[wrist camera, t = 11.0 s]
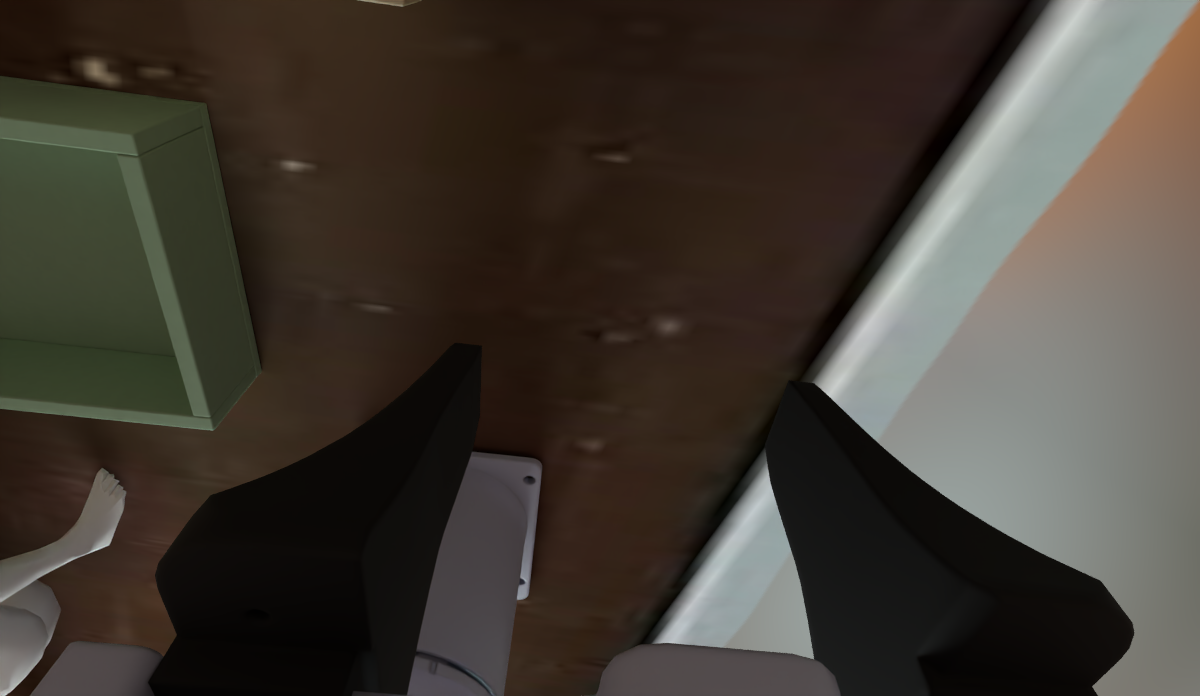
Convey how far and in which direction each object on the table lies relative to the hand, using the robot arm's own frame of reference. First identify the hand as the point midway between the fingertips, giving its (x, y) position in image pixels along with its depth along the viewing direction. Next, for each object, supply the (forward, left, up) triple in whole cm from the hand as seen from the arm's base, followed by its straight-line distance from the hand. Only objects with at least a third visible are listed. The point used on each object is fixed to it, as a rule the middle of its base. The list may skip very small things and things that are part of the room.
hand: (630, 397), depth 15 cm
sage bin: (-2, +21, -8) cm, 22 cm away
